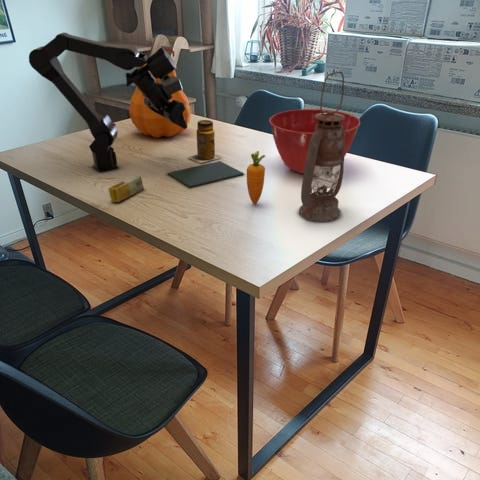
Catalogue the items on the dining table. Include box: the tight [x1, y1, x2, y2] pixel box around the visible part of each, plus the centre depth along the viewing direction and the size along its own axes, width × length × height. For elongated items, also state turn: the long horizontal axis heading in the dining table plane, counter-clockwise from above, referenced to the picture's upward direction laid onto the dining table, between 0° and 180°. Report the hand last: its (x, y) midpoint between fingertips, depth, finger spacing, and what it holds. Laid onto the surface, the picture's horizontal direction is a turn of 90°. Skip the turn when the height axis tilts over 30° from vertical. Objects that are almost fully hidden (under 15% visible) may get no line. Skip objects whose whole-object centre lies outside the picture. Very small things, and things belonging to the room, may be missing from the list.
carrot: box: [246, 150, 266, 206], centre depth 134 cm, size 5×5×15 cm
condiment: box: [188, 119, 221, 164], centre depth 167 cm, size 7×8×12 cm
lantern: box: [298, 71, 345, 223], centre depth 123 cm, size 11×16×35 cm
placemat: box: [167, 160, 244, 189], centre depth 157 cm, size 20×14×1 cm
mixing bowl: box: [268, 108, 361, 176], centre depth 158 cm, size 28×28×16 cm
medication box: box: [108, 175, 144, 203], centre depth 142 cm, size 12×3×4 cm, turn 152°
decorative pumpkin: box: [128, 46, 192, 139], centre depth 185 cm, size 24×24×30 cm
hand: (179, 124), depth 160 cm, fingers open, 9 cm apart
